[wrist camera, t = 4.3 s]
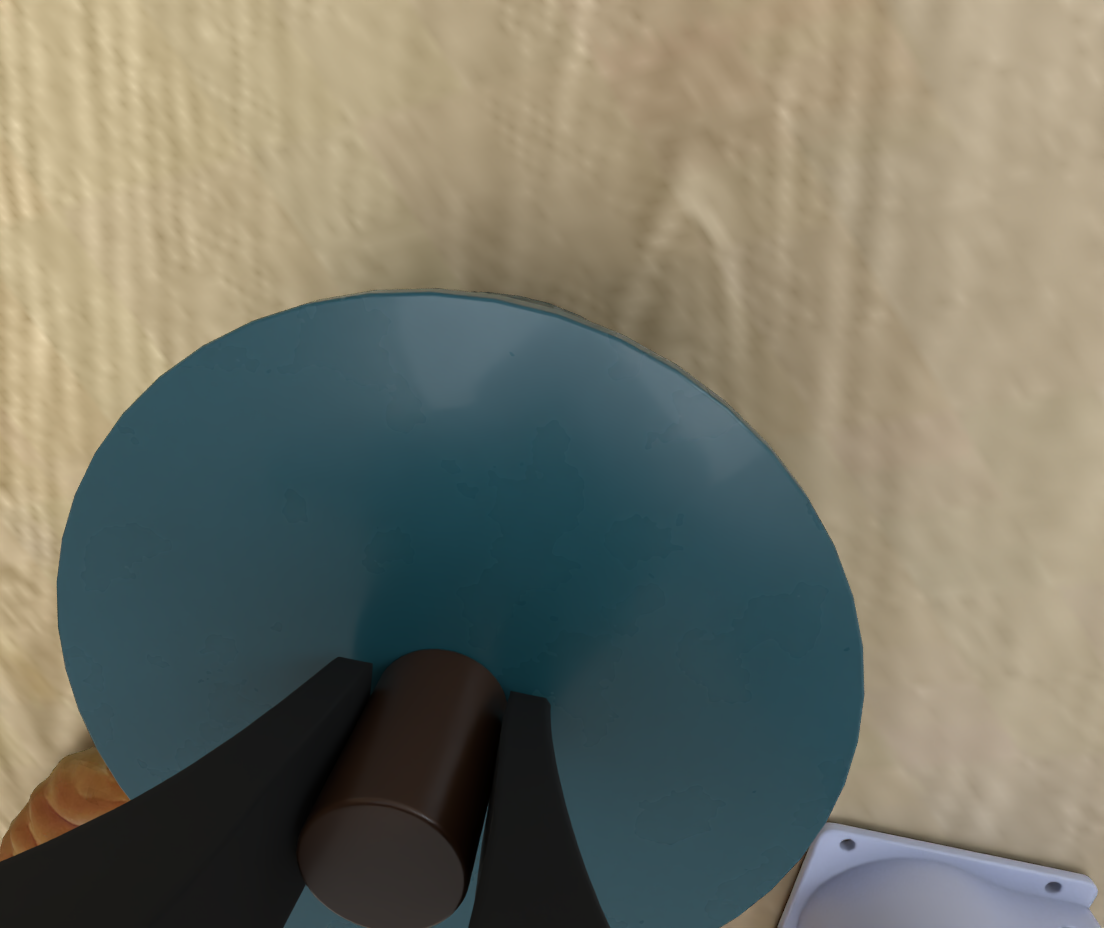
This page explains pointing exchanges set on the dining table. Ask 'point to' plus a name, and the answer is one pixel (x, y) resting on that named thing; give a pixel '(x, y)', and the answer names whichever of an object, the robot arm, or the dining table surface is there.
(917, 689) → the dining table surface
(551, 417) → the lid
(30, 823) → the pastry
